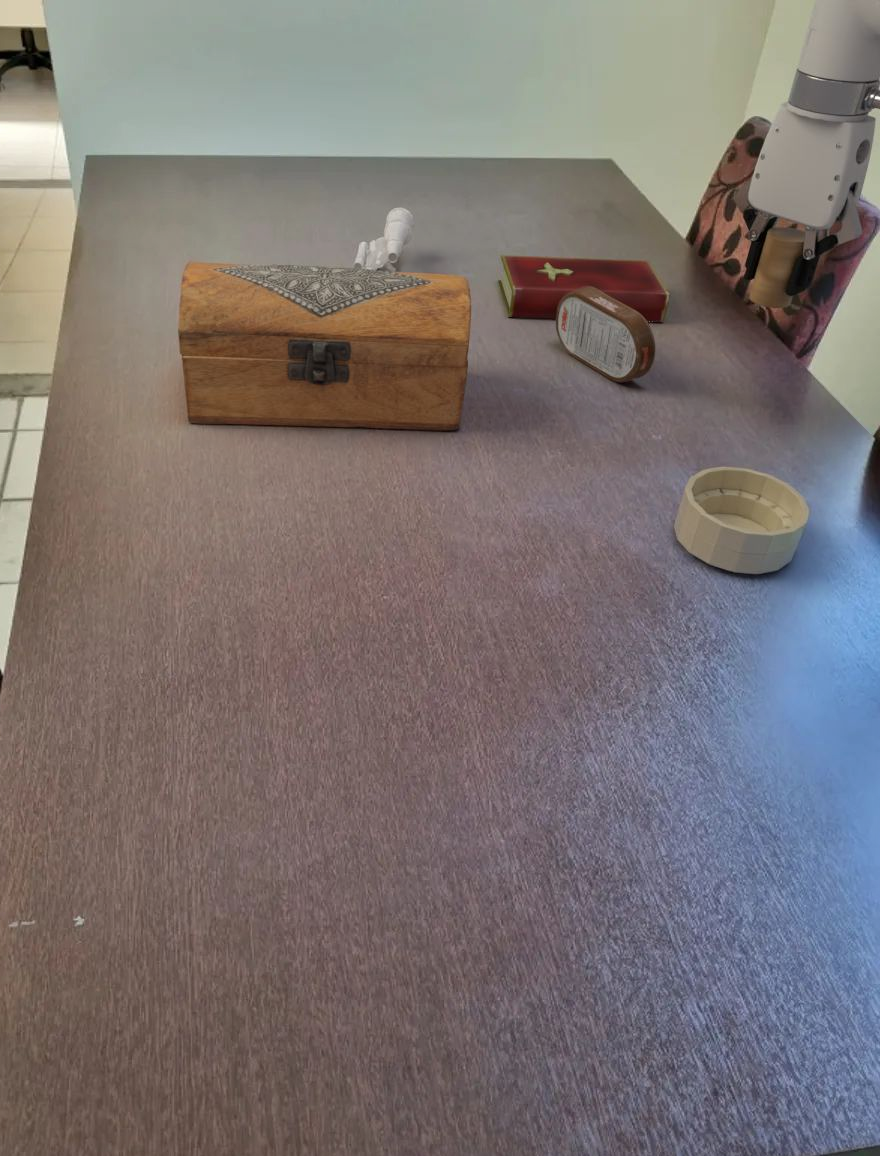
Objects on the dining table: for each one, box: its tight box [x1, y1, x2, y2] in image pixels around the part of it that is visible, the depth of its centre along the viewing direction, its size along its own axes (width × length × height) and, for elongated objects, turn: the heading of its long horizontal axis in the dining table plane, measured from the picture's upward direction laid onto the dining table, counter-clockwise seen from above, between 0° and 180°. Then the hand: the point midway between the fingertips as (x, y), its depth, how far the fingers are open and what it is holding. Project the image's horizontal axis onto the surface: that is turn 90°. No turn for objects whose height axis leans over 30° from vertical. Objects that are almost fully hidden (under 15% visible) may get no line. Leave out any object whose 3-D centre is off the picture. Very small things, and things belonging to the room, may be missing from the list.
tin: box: [555, 286, 656, 383], centre depth 117 cm, size 15×3×8 cm, turn 34°
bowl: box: [673, 466, 811, 575], centre depth 92 cm, size 11×11×5 cm
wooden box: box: [177, 260, 472, 432], centre depth 106 cm, size 30×16×14 cm, turn 91°
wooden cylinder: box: [748, 226, 805, 309], centre depth 103 cm, size 4×4×7 cm
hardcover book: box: [497, 254, 671, 323], centre depth 133 cm, size 12×21×4 cm, turn 93°
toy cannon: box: [352, 207, 415, 272], centre depth 137 cm, size 8×14×5 cm
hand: (774, 283), depth 105 cm, fingers closed on wooden cylinder, 4 cm apart
